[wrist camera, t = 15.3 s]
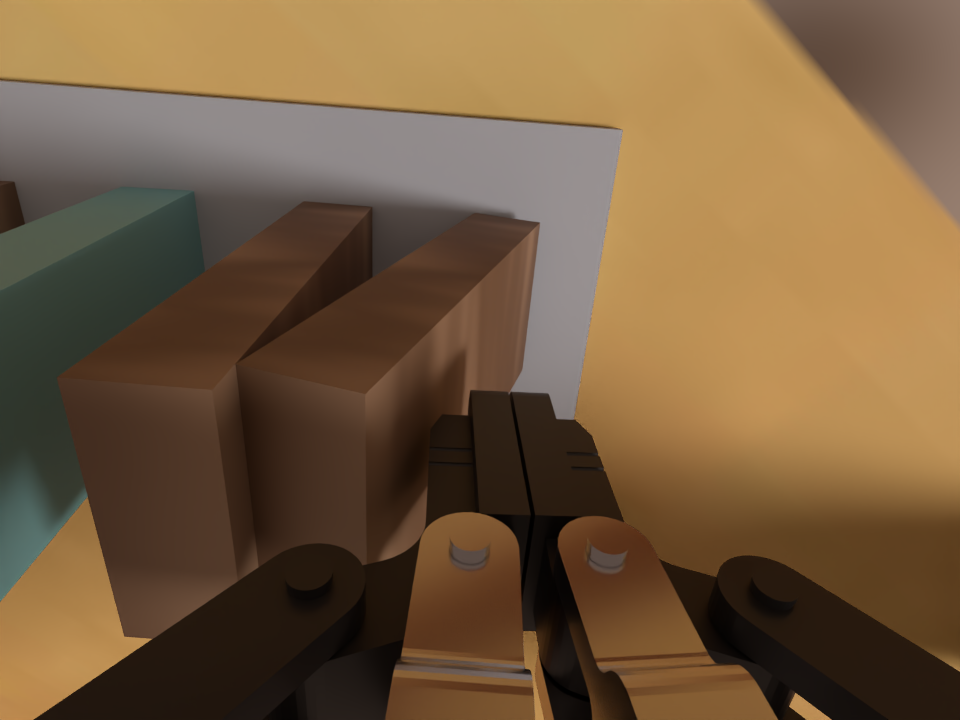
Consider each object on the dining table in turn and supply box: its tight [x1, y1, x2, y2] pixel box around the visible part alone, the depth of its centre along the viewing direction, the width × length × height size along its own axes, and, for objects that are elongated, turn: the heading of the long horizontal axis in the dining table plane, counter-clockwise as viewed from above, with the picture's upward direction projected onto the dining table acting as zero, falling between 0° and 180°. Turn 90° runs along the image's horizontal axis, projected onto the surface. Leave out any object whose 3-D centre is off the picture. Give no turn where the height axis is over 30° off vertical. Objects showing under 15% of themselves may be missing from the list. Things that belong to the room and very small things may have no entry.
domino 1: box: [0, 187, 205, 601], centre depth 13 cm, size 2×5×11 cm, turn 176°
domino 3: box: [236, 213, 540, 567], centre depth 14 cm, size 2×5×11 cm, turn 176°
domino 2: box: [57, 201, 373, 639], centre depth 14 cm, size 2×5×11 cm, turn 175°
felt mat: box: [0, 80, 623, 420], centre depth 19 cm, size 26×10×1 cm, turn 86°
